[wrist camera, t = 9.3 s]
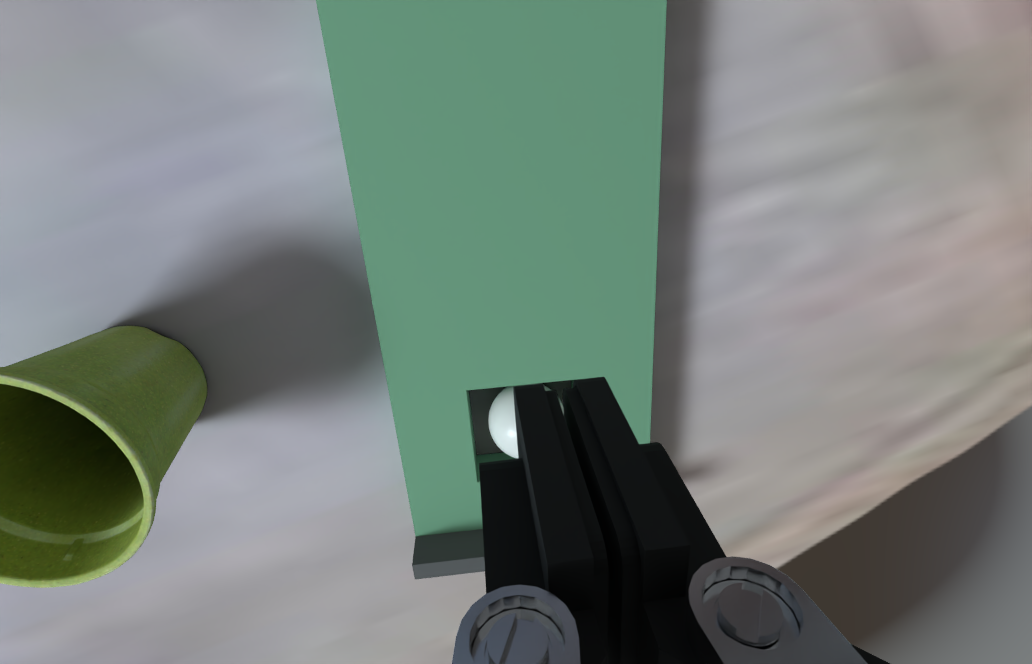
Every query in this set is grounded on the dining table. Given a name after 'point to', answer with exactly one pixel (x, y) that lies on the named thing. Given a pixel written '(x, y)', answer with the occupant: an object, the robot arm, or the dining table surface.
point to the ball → (506, 421)
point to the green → (499, 217)
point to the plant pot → (89, 451)
